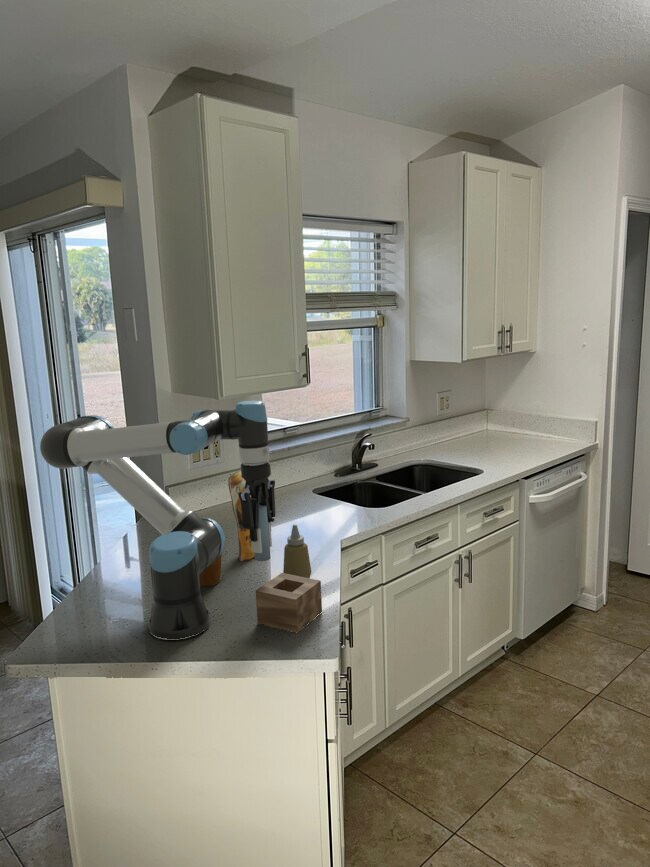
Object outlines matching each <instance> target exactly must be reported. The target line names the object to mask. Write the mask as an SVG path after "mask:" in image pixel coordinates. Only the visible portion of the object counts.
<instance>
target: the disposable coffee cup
mask: <svg viewBox="0 0 650 867" xmlns="http://www.w3.org/2000/svg"><path fill="white" fill-rule="evenodd" d="M222 556H223V551H222V552H221V554H220V555H219V557H218V558H217V559H216V560H215V561H214V562H213V563H211V564H210V565H209V566H208V567H207V568H206V569H205V570H204V571H203V572H202V573H201V574H200V575H199V580H200V586H203V587H209V586H215V585H217V584H220V582H221V573H222Z"/></svg>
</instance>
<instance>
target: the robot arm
mask: <svg viewBox="0 0 650 867" xmlns="http://www.w3.org/2000/svg"><path fill="white" fill-rule="evenodd" d="M268 429H269V428H268V416H267V410H266V405H265V403H264V402H263V401H262V400H243V401H238V402H237V403H236V404H235V409H204V410H195V411H194V412H193V414H192V415H191V416H190V419H183V420H176V421H168V422H167V421H166V422H158V423H151V424H150V423H148V424H140V425H131V426H124V427H121V426H120V427H114V425H113V424H112V423H111V422H110V421H109V420H108V419H106V418H105V417H102V416H99V415H95V414H92V415H91V414H90V415H82V416H79V417H77V418H75V419H72V420H69V421H66V422H63V423H60V424H59V423H58V424H55V425H53V426H52V427H50V428H49V429H47V430H46V431H45V433H44V434H43V435H42V437H41V440H40V443H39V445H40V446H39V448H40V449H39V450H40V453H41V457H42V458H43V459H44V461H45V462H46V463H47V464H49V465H50V466H52V467H53V468H57V469H59V470H60V469H70V468H76V467H77V468H78V467H81V468H82V469H84V470H85V472H87V474H90V475H92V474H93V475H94V474H97V475H98V476H100V478H102V480H104V482H106V483H107V484H108V485H109V486H110V487H111V488H112V489H114V491H115V492H117V494H119V496H120V497H122V498H123V500H125V501H126V502H127V503H128V504H129V505H130V506H131V507H133V509H134V510H135V511H136V512H137V513H138V514H140V515H141V516H142V517H143V518H144V519H145V520H146V521H147V522H148V523H150V525H151V526H152V527H153V528H155V529H156V530H157V531H158V532H159V533H160V534H161V535H159V536H158V537H156V538H155V539H154V540H153V541H152V542H151V544H150V545H149V550H148V563H149V569H150V578H151V587H152V596H153V597H152V599H153V604H152V608H151V612H150V618H149V621H148V628H149V630H150V632H151V633H152V634H153V635H155V636H157V637H161V638H167V639H180V638H185V637H189V636H192V635H196V634H198V633H200V632H202V631H203V630H205V629H206V628H207V627H208V626H209V627H210V625H211V617H210V612H209V610H208V609H207V607H206V603H205V601H204V599H203V597H202V595H201V593H202V592H201V585H200V580H199V575H200V574H201V573H202V572H203V571H204V570H205V569H206V568H207V567H208V566H209V565H210V564H211V563H213V562H214V561H215V560H216V559H217V558H218V557H219V555H220V554H221V552H222V553H223V550H224V549H225V545H226V540H225V539H226V538H225V532H224V530H223V528H222V527H221V525H220V524H219V523H218V522H217V521H216V520H214V519H213V518H209V517H200V516H199V515H198V513H197V512H195V511H194V510H185V509H183V508H182V506H180V505H179V503H177V502H176V500H174V499H173V498H172V497H170V495H168V494H167V493H166V492H165V491H164V490H163V489H162V488H161V487H160V486H159V485H158V484H157V483H156V482H155V481H154V480H153V479H151V477H149V476H148V475H147V474H146V473H145V472H144V471H143V470H142V469H141V468H140V467H139V466H138V465H137V464H136V463H135V462H134V461H132V460H131V459H130V458H135V457H146V456H155V455H165V454H175V453H178V454H180V455H182V456H183V455H184V456H189V455H193V454H196V453H198V452H200V451H202V449H204V448H206V447H208V446H210V445H211V444H213V443H216V442H217V441H221V440H237V441H238V452H239V462H240V463H241V464H240V470H241V476H242V478H243V479H244V480H245V490H244V491H243V492H239V494H238V496H239V498H240V501H241V510H242V519H243V527H244V528H245V529H249V530H250V540H251V547H252V552H255V553H262V543H261V530H260V528H258V517H259V505H266V506H267V519H268V532H269V545H270V548H271V547H272V546H273V541H272V523H274V522H275V517H276V500H275V499H276V498H275V497H276V496H275V487H276V485H275V484H276V481H275V479H269V478H270V477H271V474H272V472H271V471H272V470H271V469H272V468H271V462H270V461H269V460H270V459H271V458H270V448H269V444H270V443H269V431H268ZM209 624H210V625H209ZM209 627H208V628H209ZM208 628H207V629H208ZM205 631H206V630H205ZM150 632H149V633H150Z"/></svg>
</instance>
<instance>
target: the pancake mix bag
mask: <svg viewBox="0 0 650 867" xmlns="http://www.w3.org/2000/svg"><path fill="white" fill-rule="evenodd" d="M227 482H228V490H229V493H230V498H231V499H230V500H231V505H232V506H231V507H232V512H233V515H234V518H235V521H236V524H237V526H236V528H237V538H238V560H239V561H240V562H243V561H248V560H252V559H253V558H255V552H252V547H251V540H250V530H249V529H245V528H244V527H243V519H242V510H241V501H240V498H239V496H238V494H239V492H243V491H244V490H245V480H244V479H243V478H242V476H241V469H240V470H238V471H236V472H234V473H233V474H231V475H230V476H229V478H228V479H227Z"/></svg>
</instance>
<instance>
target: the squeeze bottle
mask: <svg viewBox="0 0 650 867" xmlns="http://www.w3.org/2000/svg"><path fill="white" fill-rule="evenodd" d="M286 540H287V544H285V546H284V550H283V551H284V552H283V553H284V554H283V572H282V573H285V574H290V575H295V576H300V577H305V578H310V579H311V575H312V567H311V561H310V553H309V548H308V544H307V543H305V538H304V536H303V535H302V534H300V530H299V528H298V525H297V524H293V525H292V529H291V534H290V535H289V536H287V538H286Z"/></svg>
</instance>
